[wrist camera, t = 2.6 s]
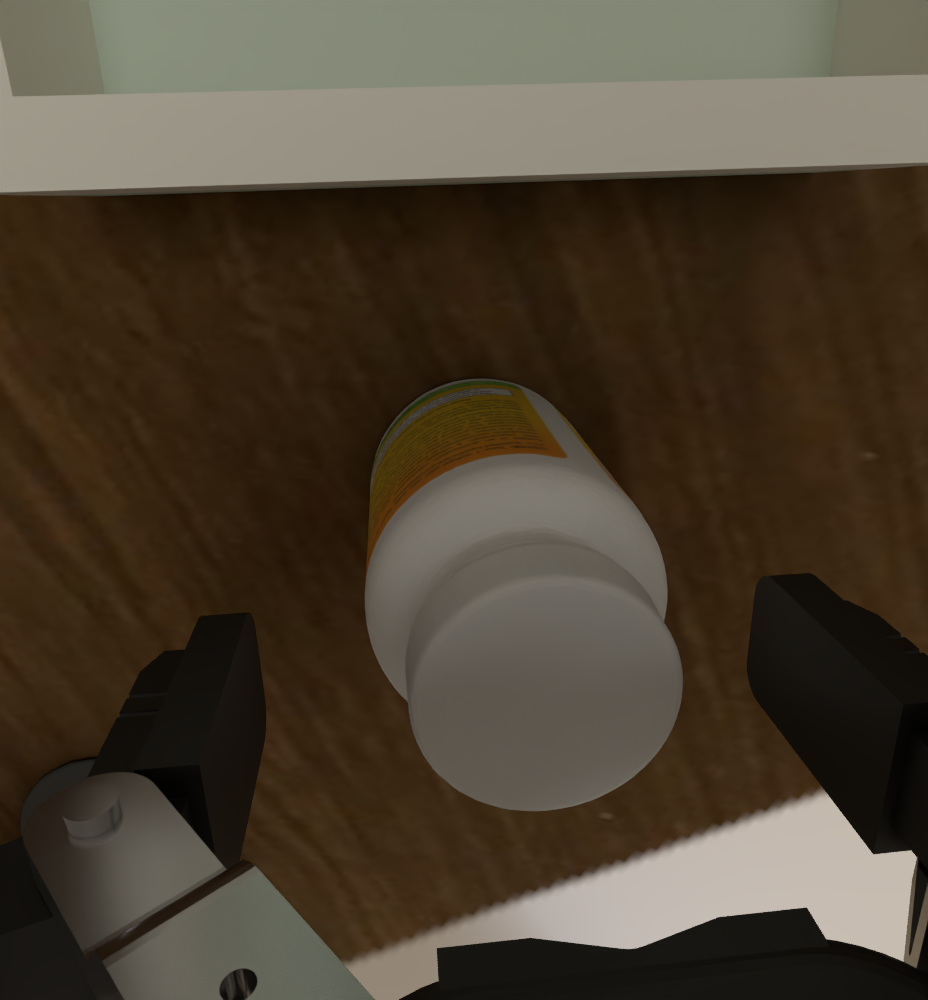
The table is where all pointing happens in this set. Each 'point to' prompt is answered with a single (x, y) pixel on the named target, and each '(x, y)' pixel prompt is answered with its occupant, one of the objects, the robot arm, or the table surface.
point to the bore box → (451, 92)
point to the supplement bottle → (516, 600)
